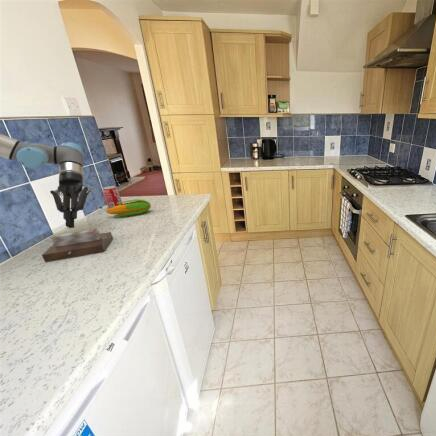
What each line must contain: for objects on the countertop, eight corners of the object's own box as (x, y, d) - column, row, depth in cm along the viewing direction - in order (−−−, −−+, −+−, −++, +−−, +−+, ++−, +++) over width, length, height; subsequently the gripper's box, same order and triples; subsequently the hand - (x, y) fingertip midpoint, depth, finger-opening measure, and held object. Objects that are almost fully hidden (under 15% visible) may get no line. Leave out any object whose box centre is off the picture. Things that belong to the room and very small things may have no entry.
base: (40, 266, 84) (36, 259, 83) (63, 243, 100) (60, 236, 98) (102, 255, 90) (99, 248, 88) (115, 235, 105) (113, 228, 104)
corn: (148, 199, 125) (101, 206, 117) (151, 213, 128) (106, 220, 120) (149, 196, 131) (104, 202, 123) (152, 209, 134) (109, 216, 126)
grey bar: (55, 247, 90) (50, 237, 89) (57, 244, 92) (53, 234, 90) (99, 240, 95) (95, 230, 93) (101, 237, 97) (97, 228, 95)
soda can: (122, 204, 142) (116, 184, 137) (124, 207, 137) (117, 187, 132) (108, 207, 138) (101, 187, 133) (109, 211, 133) (101, 189, 128)
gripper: (93, 178, 109) (94, 227, 101) (57, 182, 104) (55, 232, 97) (85, 169, 102) (84, 220, 94) (46, 172, 98) (42, 226, 90)
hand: (69, 226), depth 96 cm, fingers closed
